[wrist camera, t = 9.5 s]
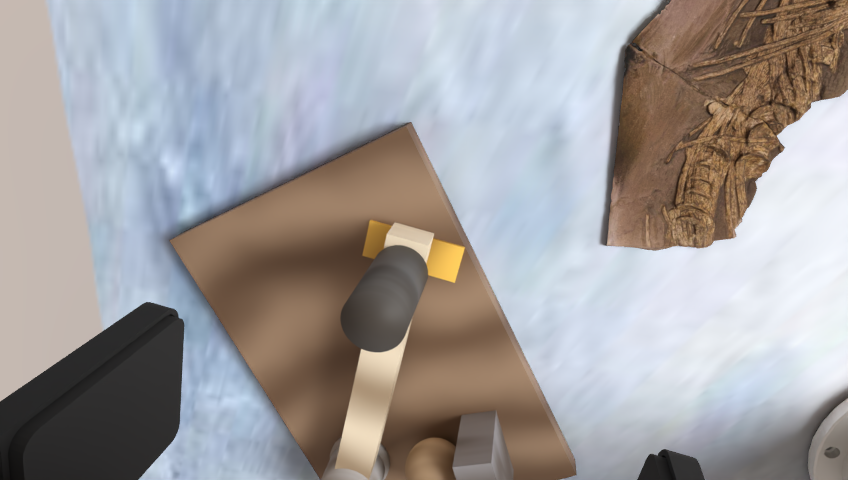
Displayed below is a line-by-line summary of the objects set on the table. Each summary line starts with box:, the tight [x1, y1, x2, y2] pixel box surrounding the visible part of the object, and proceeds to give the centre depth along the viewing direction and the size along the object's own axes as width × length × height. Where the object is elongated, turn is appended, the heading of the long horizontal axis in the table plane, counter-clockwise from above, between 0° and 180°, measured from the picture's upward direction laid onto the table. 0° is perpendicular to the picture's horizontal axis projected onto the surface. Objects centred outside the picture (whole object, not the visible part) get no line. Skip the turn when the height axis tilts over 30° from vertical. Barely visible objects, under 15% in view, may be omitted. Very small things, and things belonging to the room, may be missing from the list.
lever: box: [321, 222, 434, 480], centre depth 34 cm, size 22×4×8 cm, turn 167°
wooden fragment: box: [605, 0, 848, 250], centre depth 30 cm, size 26×11×1 cm, turn 155°
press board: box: [170, 122, 576, 480], centre depth 37 cm, size 26×18×6 cm
